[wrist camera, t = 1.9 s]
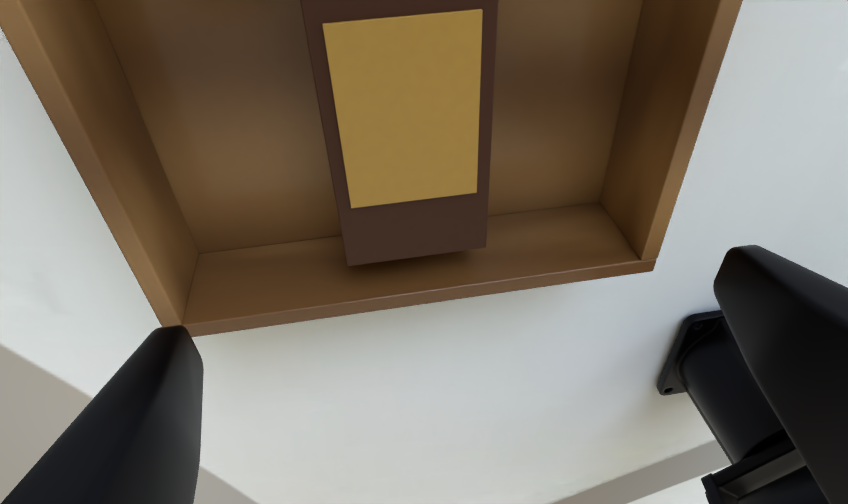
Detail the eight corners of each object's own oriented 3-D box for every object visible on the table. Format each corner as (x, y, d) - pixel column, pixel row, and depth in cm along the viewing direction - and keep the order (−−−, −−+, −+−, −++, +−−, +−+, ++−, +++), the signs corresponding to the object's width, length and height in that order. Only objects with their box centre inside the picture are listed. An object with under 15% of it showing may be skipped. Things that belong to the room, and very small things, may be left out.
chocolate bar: (464, 191, 19) (487, 250, 17) (342, 206, 19) (347, 269, 17) (469, -130, 13) (506, -110, 11) (287, -118, 13) (282, -95, 10)
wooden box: (604, 202, 22) (653, 271, 19) (190, 256, 20) (169, 341, 17) (705, -242, 13) (827, -251, 10) (-11, -208, 11) (-127, -205, 8)
